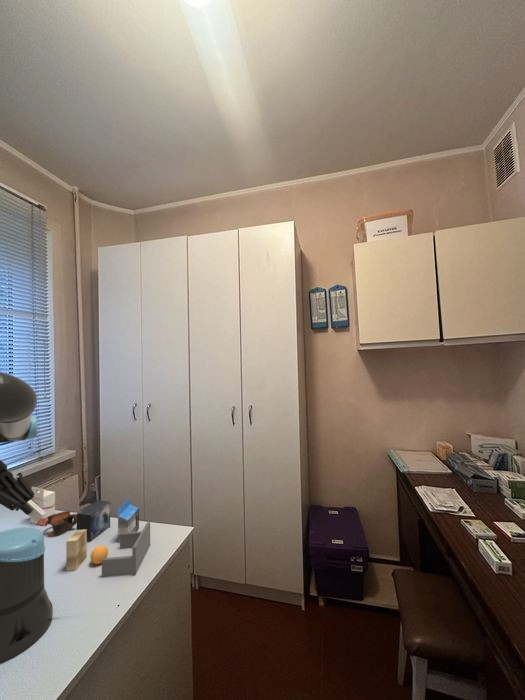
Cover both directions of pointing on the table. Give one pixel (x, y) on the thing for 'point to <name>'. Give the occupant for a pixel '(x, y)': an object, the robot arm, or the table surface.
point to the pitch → (128, 563)
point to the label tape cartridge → (127, 518)
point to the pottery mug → (61, 523)
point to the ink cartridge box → (44, 504)
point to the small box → (94, 519)
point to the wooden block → (76, 550)
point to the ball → (99, 554)
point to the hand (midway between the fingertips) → (40, 517)
